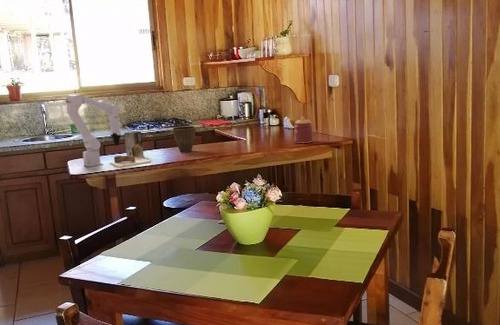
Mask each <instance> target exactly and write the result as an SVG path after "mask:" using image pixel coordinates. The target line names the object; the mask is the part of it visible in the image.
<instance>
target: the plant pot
mask: <svg viewBox="0 0 500 325" xmlns="http://www.w3.org/2000/svg"><path fill="white" fill-rule="evenodd" d="M172 131H173V135H174V139H175V142H176V145H177V148H178V151H179V152H180V153H190V152H192V150H193V147H194V142H195V136H196V126H193V125H184V126H183V125H182V126H181V125H180V126H175V127H173V128H172Z"/></svg>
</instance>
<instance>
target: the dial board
mask: <svg viewBox="0 0 500 325" xmlns="http://www.w3.org/2000/svg"><path fill="white" fill-rule="evenodd" d="M150 162H151V163H152V161H151V160H149V159H146V158H143V157H142V156H140V157H136V158H135V161H134V162H124V161H122V162H115V160H114V161H110V162H109V164H110V165H111V166H115V167H116V168H125V167H131V166H136V165H144V164H150Z"/></svg>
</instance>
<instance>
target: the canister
mask: <svg viewBox="0 0 500 325" xmlns="http://www.w3.org/2000/svg"><path fill="white" fill-rule="evenodd" d="M300 118H301V119H298V120H296V121H294V123H295V124H294V125H293V127H294V130H293V133H294V134H293V135H294V139H293V140H294V143H295V142H309V141H312V140H313V141H314V129H313V126H314V125H313V123H312V120H310V119H306V118H305V116H301V117H300Z"/></svg>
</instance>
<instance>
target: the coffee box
mask: <svg viewBox="0 0 500 325" xmlns="http://www.w3.org/2000/svg"><path fill="white" fill-rule="evenodd" d="M124 144H125V152H126V156H135V158H140V157H144V154H145V153H144V147H143V137H142V131H139V130H132V131H128V132H124Z"/></svg>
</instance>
